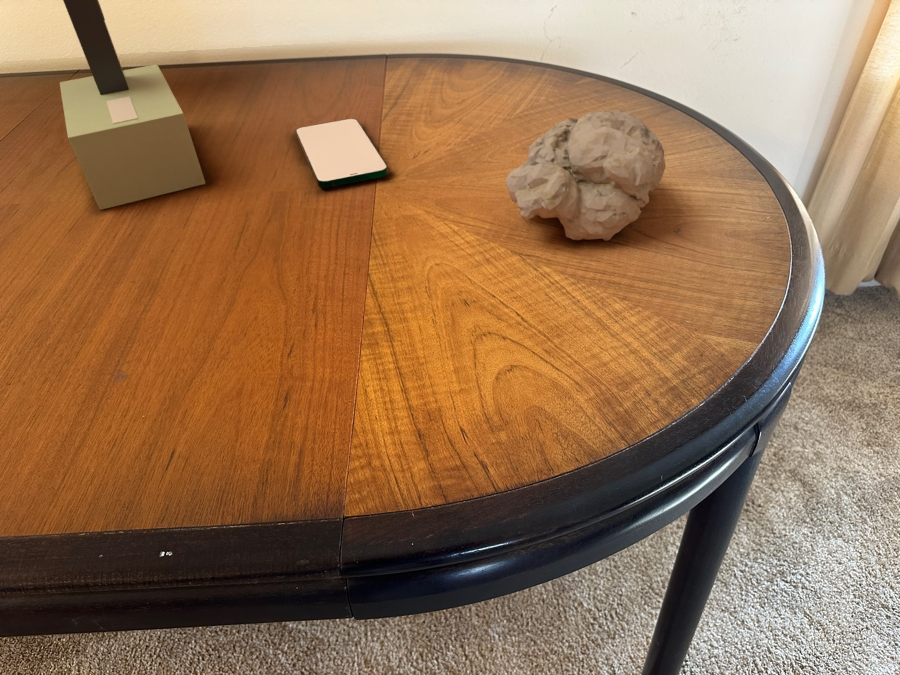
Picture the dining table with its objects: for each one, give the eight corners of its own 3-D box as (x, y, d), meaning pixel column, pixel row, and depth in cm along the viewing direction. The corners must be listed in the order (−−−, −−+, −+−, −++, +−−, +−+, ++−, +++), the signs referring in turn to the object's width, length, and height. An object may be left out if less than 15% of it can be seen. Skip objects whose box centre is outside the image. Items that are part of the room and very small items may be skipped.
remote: (100, 95, 71) (47, -39, 63) (97, 81, 75) (47, -48, 66) (130, 89, 72) (82, -44, 64) (126, 76, 76) (80, -52, 67)
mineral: (470, 187, 64) (496, 117, 55) (601, 131, 70) (644, 59, 61) (540, 288, 61) (580, 231, 52) (671, 220, 67) (727, 159, 58)
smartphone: (295, 135, 81) (319, 191, 69) (293, 128, 80) (317, 183, 68) (357, 124, 82) (391, 176, 71) (356, 117, 82) (390, 168, 70)
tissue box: (87, 147, 81) (58, 81, 75) (178, 127, 84) (156, 63, 79) (100, 210, 68) (67, 136, 63) (205, 183, 72) (183, 112, 66)
